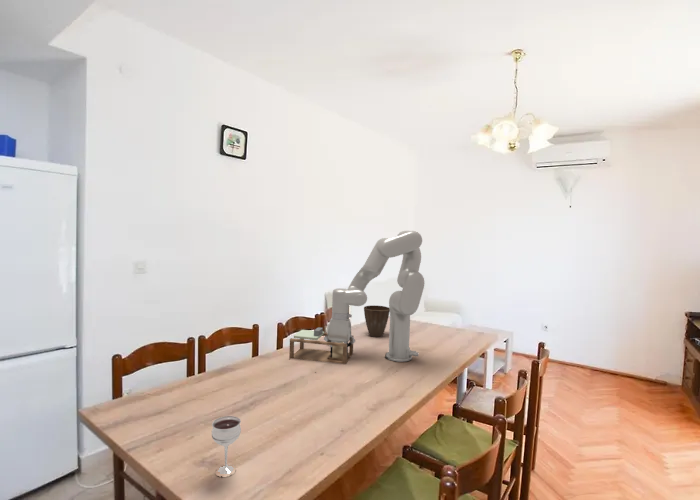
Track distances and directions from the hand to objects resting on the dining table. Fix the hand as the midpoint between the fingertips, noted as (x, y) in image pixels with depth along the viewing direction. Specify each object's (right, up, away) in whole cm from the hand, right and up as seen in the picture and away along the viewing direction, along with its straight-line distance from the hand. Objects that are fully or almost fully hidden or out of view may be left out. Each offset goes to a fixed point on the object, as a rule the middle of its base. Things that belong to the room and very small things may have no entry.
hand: (338, 355), depth 172 cm
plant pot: (+20, -1, +44) cm, 49 cm away
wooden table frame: (-8, -2, +2) cm, 8 cm away
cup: (-3, -2, +21) cm, 21 cm away
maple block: (0, -1, 0) cm, 1 cm away
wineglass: (-25, -6, -81) cm, 85 cm away
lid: (-14, +8, +3) cm, 16 cm away
